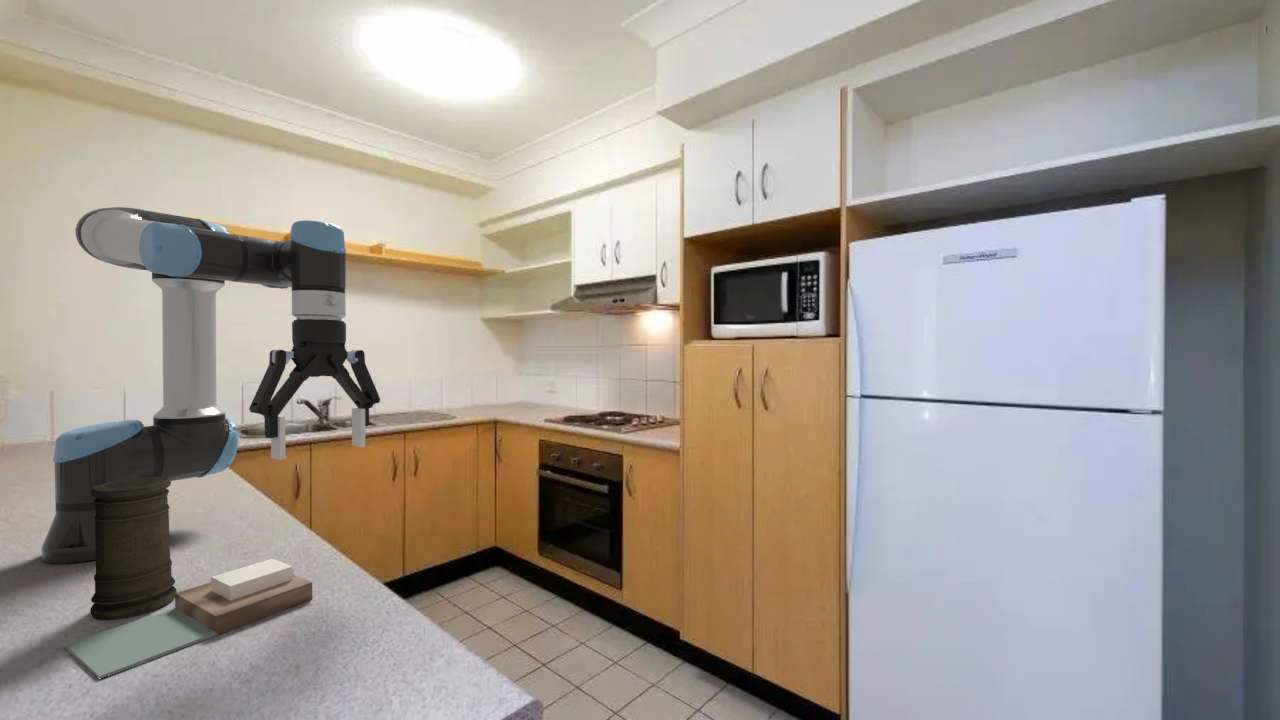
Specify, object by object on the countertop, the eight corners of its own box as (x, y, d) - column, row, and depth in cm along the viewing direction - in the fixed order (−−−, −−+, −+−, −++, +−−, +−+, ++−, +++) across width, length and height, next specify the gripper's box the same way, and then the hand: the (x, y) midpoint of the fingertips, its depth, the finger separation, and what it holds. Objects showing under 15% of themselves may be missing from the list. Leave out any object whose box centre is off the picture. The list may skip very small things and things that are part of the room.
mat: (64, 647, 67) (64, 644, 67) (175, 610, 76) (175, 607, 76) (99, 679, 60) (99, 676, 60) (216, 635, 70) (216, 632, 70)
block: (211, 590, 77) (211, 576, 77) (272, 571, 84) (272, 558, 84) (230, 600, 74) (230, 586, 74) (292, 579, 81) (292, 566, 81)
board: (175, 610, 76) (174, 593, 76) (268, 580, 87) (268, 564, 87) (216, 635, 70) (216, 616, 70) (312, 598, 80) (312, 582, 80)
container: (190, 596, 81) (188, 477, 80) (115, 625, 72) (113, 492, 72) (151, 588, 84) (149, 473, 83) (75, 615, 75) (73, 487, 75)
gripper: (244, 313, 75) (247, 468, 75) (401, 322, 95) (402, 443, 96) (220, 315, 78) (222, 462, 79) (375, 323, 99) (376, 439, 100)
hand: (321, 452), depth 87 cm, fingers open, 12 cm apart
